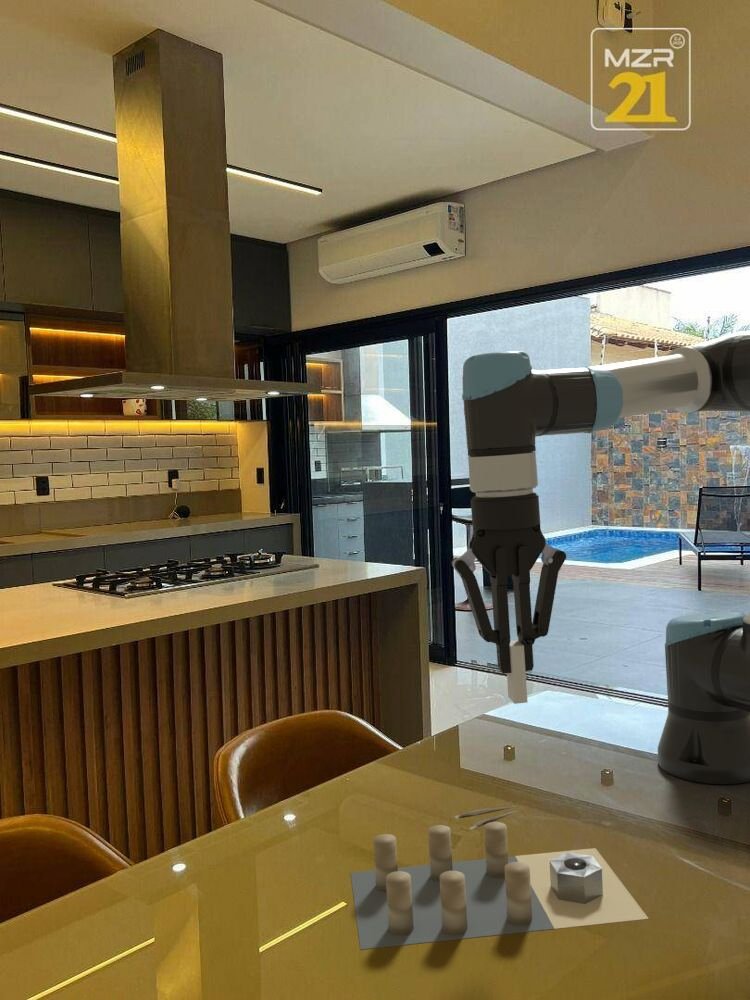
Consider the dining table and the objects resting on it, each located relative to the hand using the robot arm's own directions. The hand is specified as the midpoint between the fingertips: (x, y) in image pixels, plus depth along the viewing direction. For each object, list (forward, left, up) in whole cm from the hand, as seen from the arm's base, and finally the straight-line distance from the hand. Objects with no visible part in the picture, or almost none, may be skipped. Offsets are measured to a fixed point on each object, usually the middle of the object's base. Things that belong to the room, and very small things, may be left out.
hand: (517, 699), depth 98 cm
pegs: (+9, +3, -21) cm, 23 cm away
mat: (+5, +3, -21) cm, 22 cm away
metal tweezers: (-3, -18, -22) cm, 29 cm away
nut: (-5, +4, -21) cm, 22 cm away
